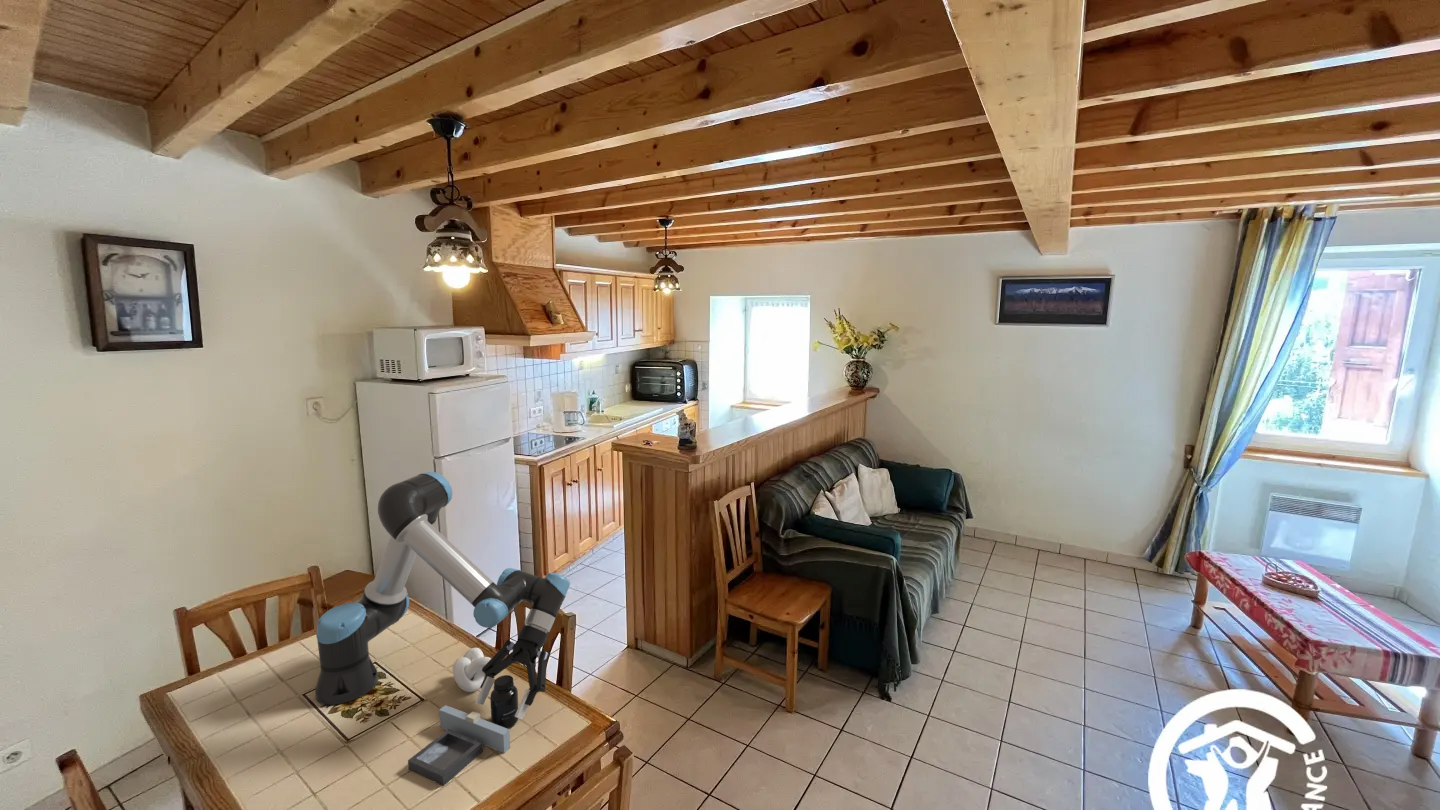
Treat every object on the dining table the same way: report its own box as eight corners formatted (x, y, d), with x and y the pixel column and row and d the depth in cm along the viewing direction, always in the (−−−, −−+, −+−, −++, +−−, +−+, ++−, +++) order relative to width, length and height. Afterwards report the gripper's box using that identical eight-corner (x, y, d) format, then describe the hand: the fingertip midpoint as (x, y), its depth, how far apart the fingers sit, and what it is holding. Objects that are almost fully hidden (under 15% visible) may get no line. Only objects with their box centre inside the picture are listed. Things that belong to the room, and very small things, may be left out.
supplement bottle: (509, 732, 145) (507, 690, 144) (486, 728, 147) (483, 686, 145) (524, 715, 152) (522, 674, 150) (501, 711, 153) (499, 671, 152)
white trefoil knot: (498, 667, 173) (496, 640, 172) (495, 691, 162) (494, 663, 160) (457, 674, 169) (456, 647, 168) (452, 699, 158) (450, 670, 157)
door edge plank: (440, 727, 147) (438, 705, 146) (446, 722, 149) (445, 700, 148) (504, 753, 138) (502, 730, 138) (510, 747, 140) (509, 725, 139)
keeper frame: (408, 769, 133) (407, 760, 133) (449, 737, 144) (448, 728, 143) (443, 785, 129) (442, 776, 128) (482, 751, 139) (482, 742, 139)
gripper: (578, 643, 156) (543, 727, 145) (509, 623, 166) (471, 700, 154) (565, 634, 150) (527, 721, 139) (494, 615, 160) (454, 694, 149)
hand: (498, 710), depth 147 cm, fingers open, 13 cm apart
